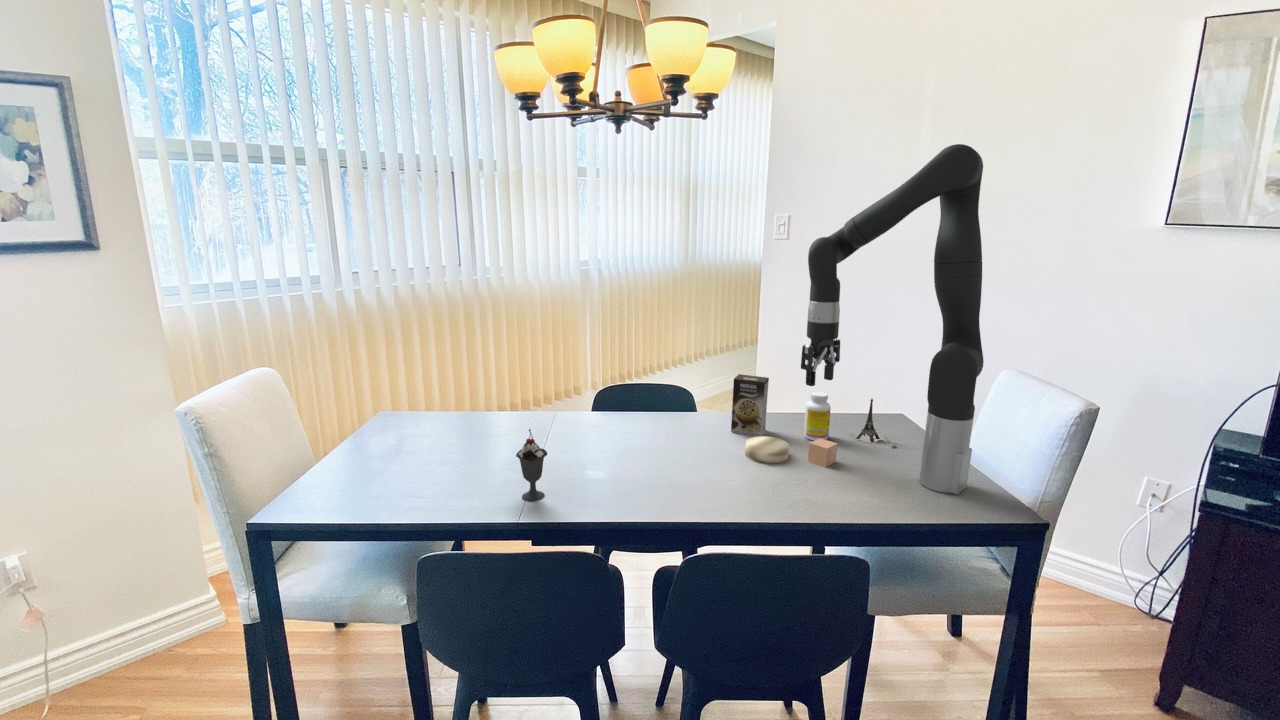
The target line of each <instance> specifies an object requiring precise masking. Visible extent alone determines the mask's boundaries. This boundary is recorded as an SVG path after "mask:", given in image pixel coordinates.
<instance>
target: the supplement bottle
mask: <svg viewBox="0 0 1280 720" xmlns="http://www.w3.org/2000/svg"><path fill="white" fill-rule="evenodd" d="M809 395H810V396H809V398H810V400H809V401H807V402H806V404H805V413H804V426H803V428H804V429H803V436H804V437H805V438H806V439H807V440H811V441H815V440H817V439H819V438H821V439H824V440H828V438H829V433H830V421H831V420H830V419H831V409H832V407H831V405H830V403H828V402H827V401H828V399H829V395H828V393H826V392H823V391H812V392H810V394H809Z"/></svg>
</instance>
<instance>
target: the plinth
mask: <svg viewBox="0 0 1280 720" xmlns="http://www.w3.org/2000/svg"><path fill="white" fill-rule="evenodd" d="M789 448H790V446H789V443H788V442H787V441H785V440H783V439H781V438H777V437H773V436H764V435H762V436H753V437H750V438H748V439H746V441H745V448H744V453H745V454H744V455H745V456H746V458H748V459H749V460H752V461H755V462H758V463H763V464H779V463H783V462H786V461H787V460H788V459H789V451H790V450H789Z"/></svg>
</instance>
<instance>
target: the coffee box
mask: <svg viewBox="0 0 1280 720" xmlns="http://www.w3.org/2000/svg"><path fill="white" fill-rule="evenodd" d="M769 381H770V377H766V376H758V375H750V374H748V375H747V374H738V375H736V376H735V377H734V378H733V385H732V387H733V388H732V389H733V390H732V391H733V392H732V406H731V407H732V408H731V427H730V432H731V433H734V434H735V433H736V434H743V435H748V436H753V437H762V436H763V434H764V433H765V431H766V425H767V424H766V421H767V409H768V408H767V407H768V405H767V404H768V397H769V396H768V394H769V393H768V392H769Z"/></svg>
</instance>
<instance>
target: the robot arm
mask: <svg viewBox="0 0 1280 720" xmlns="http://www.w3.org/2000/svg"><path fill="white" fill-rule="evenodd" d="M983 171H984V161H983V159H982V157H981V154H979V151H976V149H974V148H973V147H972V146H969V145H967V144H961V143H956V144H952V145H949V146H946V147H945V148H943V149H941V151H939V153H937V154H936V155H935V156H934V157H933V158H932V159H931V160H930V161H928V162H927V163H926V164H925V165H924V166H923V167H922V168H921V169H919V170H918V171H917V172H915V174H914V175H912V176H911V177H910V178H909V179H907V180H906V181H905V182H903V183H902V184H901V185H899V186H898V187H897V188H894V190H892V191H891V192H890V193H888V194H887V195H885V196H883V197H882V198H880V199H879V200H877V201H875V202H874V203H872V204H871V205H869V206H868V207H866V208H865V209H863V210H861V211H860V212H859V213H857V214H856V215H855V216H852V217H851V218H849V220H847V221H846V222H845V223H844V225H843V227H841V228H840V229H838V230H836V231H835V232H833V233H832V234H830V235H829V236H822V237H818V238H816V239H815V240H813V242H812V243H811V245H810V246H809V249H808V255H807V264H808V265H807V266H808V271H809V272H808V273H809V279H810V287H809V288H810V289H809V290H810V291H809V303H808V309H807V322H806V323H807V324H806V337H807V338H808V339H809V340H810V344H809V345H807V344H803V345H802V349H801V360H800V361H801V362H800V369H801V370H805V385H806V386H809V387H814V386H815V385H816V378H817V377H816V376H817V375H816V373H817V372H816V370H817V368H818V366H819V365H820V364H822V361H823V362H824V364H825V365H824V369H823V370H824V372H823V379H824V380H826V381H832V380H833V379H834V369H835V366H836V364H837V363H839V362H840V359H841V358H840V357H841V339H838V338H839V332H840V331H839V330H840V329H839V327H840V317H841V315H840V314H841V313H840V312H841V307H840V301H841V300H840V297H841V282H840V281H841V280H839V278H838V268H837V265H838V264H840V263H841V262H843V261H845V260H846V259H847V258H849V257H851V255H852V254H855V252H857V251H858V250H860V249H861V248H862V247H864V246H866V245H867V244H869V243H871V242H872V241H874V240H876V239H877V238H879V237H881V236H882V235H884V234H885V233H887V232H888V231H890V230H891V229H893V228H894V227H895V226H896V225H898V224H899V223H900V222H901V221H903V220H904V219H905V218H906V217H908V216H910V214H911V213H913V212H914V211H916V210H918V209H919V208H920V207H922V206H923V205H925V204H927V203H929V202H930V201H932V200H934V199H936V198H938V197H939V206H940V208H939V209H940V218H939V219H940V221H939V226H938V231H937V236H936V241H935V248H934V256H933V258H934V259H933V280H934V281H933V282H934V283H933V284H934V290H935V294H936V295H935V296H936V300H937V303H938V305H939V310H940V314H941V317H942V339H941V347H940V350H939V351H937V352H936V353H935V355H934V356H933V358H932V360H931V363H930V367H929V373H928V374H929V375H928V385H927V398H926V399H927V403H928V406H927V407H928V408H927V414H926V415H927V416H926V422H925V431H924V438H923V447H922V454H921V463H920V470H919V477H918V478H919V483H920V485H922V486H923V487H925V488H927V489H930V490H932V491H935V492H939V493H945V494H954V495H959V494H960V493H961V492H963V491H964V490H965V489H966V488H967V486H968V480H969V474H970V473H969V472H970V466H971V460H972V452H973V449H972V447H970V446H971V438H972V433H973V432H972V431H973V426H974V425H973V424H974V417H975V410H976V406H975V401H974V399H975V392H976V385H977V379H978V377H979V376H980V375H981V373H982V371H983V367H984V354H983V347H982V345H983V344H982V340H981V339H982V338H981V327H980V326H981V325H980V313H981V303H982V286H983V285H982V284H983V249H982V248H983V247H982V235H981V226H980V217H979V207H980V206H979V205H980V197H981V196H980V195H981V185H982V178H983Z"/></svg>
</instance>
